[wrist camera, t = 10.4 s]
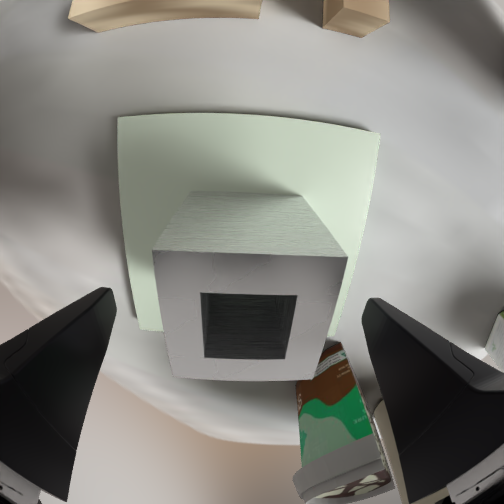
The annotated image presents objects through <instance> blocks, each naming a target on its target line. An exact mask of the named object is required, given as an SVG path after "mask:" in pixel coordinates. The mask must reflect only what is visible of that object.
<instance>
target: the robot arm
mask: <svg viewBox="0 0 504 504" xmlns="http://www.w3.org/2000/svg"><path fill="white" fill-rule="evenodd" d="M116 312H117V307H116V303H115V299H114V295H113V291H112V289H111V288H106V287H100V288H98V289H96V290H94V291H93V292H91V293H89V294H87V295H86V296H84V297H82V298H80V299H78V300H77V301H75V302H73V303H71V304H70V305H68V306H66V307H64V308H63V309H61V310H59V311H57V312H56V313H54V314H52V315H51V316H49V317H47V318H45V319H44V320H42V321H40V322H39V323H37V324H35V325H34V326H32V327H30V328H29V330H28V329H27V330H25V331H24V332H22V333H20V334H19V335H17V336H15V337H14V338H12V339H11V340H8V341H7V342H5V343H3V344H1V345H0V504H42V503H41V501H40V500H39V495H40V491H41V490H42V491H44V492H46V493H48V494H50V495H52V496H54V497H56V498H58V499H60V500H62V501H65V502H67V499H68V493H69V486H70V481H71V475H72V470H73V465H74V461H75V456H76V450H77V446H78V442H79V438H80V434H81V430H82V426H83V423H84V419H85V415H86V412H87V408H88V405H89V402H90V398H91V395H92V392H93V389H94V385H95V383H96V379H97V376H98V373H99V371H100V368H101V365H102V362H103V359H104V356H105V353H106V350H107V347H108V344H109V340H110V336H111V332H112V328H113V324H114V320H115V317H116ZM362 325H363V329H364V334H365V338H366V342H367V347H368V351H369V355H370V358H371V362H372V365H373V368H374V371H375V374H376V377H377V380H378V383H379V386H380V390H381V393H382V396H383V399H384V403H385V406H386V410H387V413H388V417H389V420H390V424H391V427H392V431H393V435H394V439H395V443H396V447H397V451H398V454H399V460H400V464H401V468H402V473H403V478H404V482H405V487H406V492H407V498H408V502H409V504H412V503H414V502H417V501H419V500H421V499H423V498H425V497H427V496H430V495H432V494H434V493H436V492H438V491H440V490H442V489H443V488H445V487H447V489H448V492H449V495H448V496H447V497H445V498H443V499H441V500H439V501H437V502H435V504H504V373H503V372H501V371H499V370H497V369H495V368H494V367H492V366H490V365H488V364H486V363H485V362H483V361H481V360H479V359H477V358H476V357H474V356H472V355H470V354H469V353H467V352H465V351H464V350H462V349H461V348H459V347H457V346H456V345H454V344H453V343H451V342H450V343H449V341H448V340H446V339H445V338H443V337H442V336H440V335H439V334H437V333H435V332H434V331H432V330H431V329H429V328H428V327H426V326H424V325H423V324H421V323H420V322H418V321H416V320H415V319H413V318H412V317H410V316H408V315H407V314H405V313H403V312H402V311H400V310H399V309H397V308H395V307H394V306H392V305H390V304H389V303H387V302H386V301H384V300H382V299H381V298H370V299H368V301H367V303H366V306H365V309H364V312H363V315H362Z"/></svg>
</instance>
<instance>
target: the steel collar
mask: <svg viewBox="0 0 504 504" xmlns="http://www.w3.org/2000/svg"><path fill="white" fill-rule="evenodd" d="M152 256H153V265H154V273H155V280H156V288H157V295H158V301H159V308H160V314H161V320H162V325H163V331H164V336H165V341H166V347H167V351H168V356H169V361H170V366H171V370H172V375H173V377H179V378H191V379H205V380H225V381H288V380H308V379H313V377H314V374H315V371H316V368H317V365H318V362H319V359H320V356H321V353H322V350H323V347H324V344H325V341H326V338H327V334H328V331H329V328H330V325H331V321H332V318H333V314H334V311H335V307H336V304H337V300H338V296H339V293H340V289H341V285H342V281H343V277H344V273H345V269H346V265H347V261H348V256H347V255H346V253H345V252H344V250H343V249H342V248H341V246H340V245H339V243H338V242H337V241H336V239H335V238H334V237H333V235H332V234H331V233H330V231H329V230H328V229H327V227H326V226H325V225H324V223H323V222H322V221H321V219H320V218H319V217H318V215H317V214H316V213H315V212H314V210H313V209H312V208H311V206H310V205H309V204H308V203H307V201H306V200H305V199H304V198H303V196H298V195H283V194H267V193H248V192H223V191H190V193H189V194H188V196H187V197H186V198H185V200H184V201H183V203H182V204H181V206H180V207H179V209H178V210H177V212H176V213H175V215H174V216H173V218H172V219H171V221H170V222H169V224H168V225H167V227H166V228H165V230H164V231H163V233H162V235H161V236H160V238H159V239H158V241H157V242H156V244H155V246H154V247H153V249H152Z"/></svg>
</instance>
